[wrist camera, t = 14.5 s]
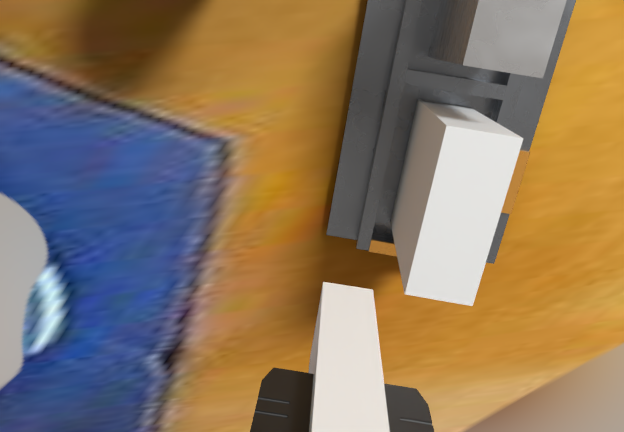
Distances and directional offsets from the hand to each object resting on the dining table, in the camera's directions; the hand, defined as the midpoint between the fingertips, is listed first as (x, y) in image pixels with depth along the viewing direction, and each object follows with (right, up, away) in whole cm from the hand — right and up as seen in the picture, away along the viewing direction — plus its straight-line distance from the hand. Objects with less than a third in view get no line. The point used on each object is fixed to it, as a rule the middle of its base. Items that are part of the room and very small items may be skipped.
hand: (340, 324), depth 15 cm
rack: (+9, +13, +22) cm, 28 cm away
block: (+8, +7, +23) cm, 26 cm away
